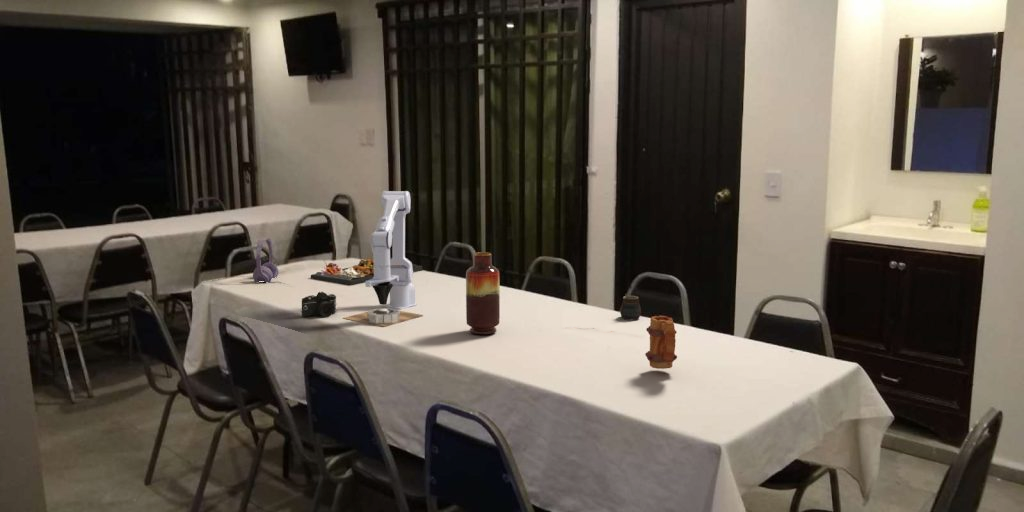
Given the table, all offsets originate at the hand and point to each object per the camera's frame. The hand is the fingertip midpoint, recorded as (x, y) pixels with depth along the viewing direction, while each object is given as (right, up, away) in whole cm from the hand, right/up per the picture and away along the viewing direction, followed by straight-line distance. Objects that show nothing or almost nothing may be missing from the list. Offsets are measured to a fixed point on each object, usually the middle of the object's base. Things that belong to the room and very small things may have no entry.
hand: (383, 304), depth 287 cm
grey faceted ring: (0, -6, +1) cm, 6 cm away
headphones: (-62, +5, +71) cm, 95 cm away
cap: (0, -6, +1) cm, 6 cm away
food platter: (-19, +6, +81) cm, 84 cm away
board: (-1, -5, +6) cm, 8 cm away
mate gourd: (+87, -6, +3) cm, 87 cm away
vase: (+35, -8, -13) cm, 39 cm away
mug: (+87, -15, -57) cm, 105 cm away
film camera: (-25, -6, +8) cm, 27 cm away
